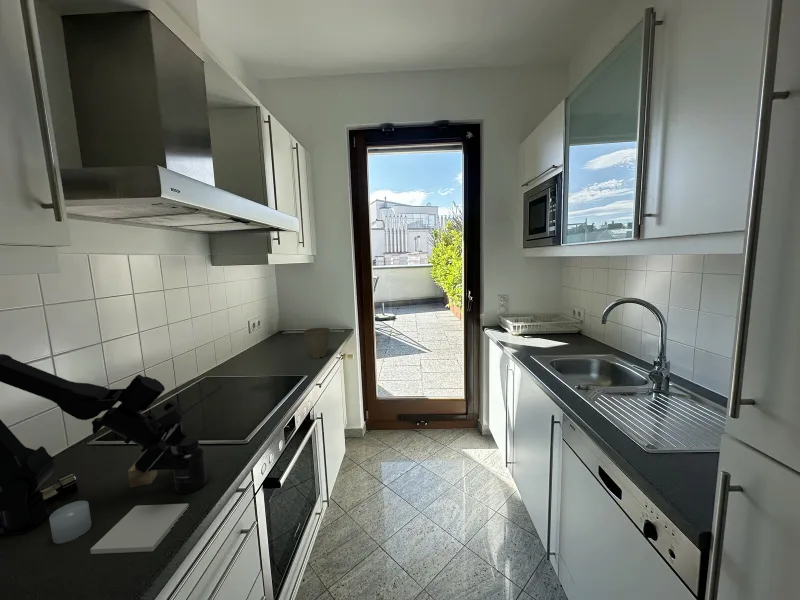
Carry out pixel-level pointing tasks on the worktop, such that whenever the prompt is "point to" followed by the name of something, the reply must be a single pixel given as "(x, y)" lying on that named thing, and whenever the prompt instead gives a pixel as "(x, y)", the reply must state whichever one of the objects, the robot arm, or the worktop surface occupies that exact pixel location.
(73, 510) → the blue-grey rounded cylinder
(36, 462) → the robot arm
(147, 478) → the oak block
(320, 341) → the plant pot
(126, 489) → the worktop surface
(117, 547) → the plate
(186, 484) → the supplement bottle
